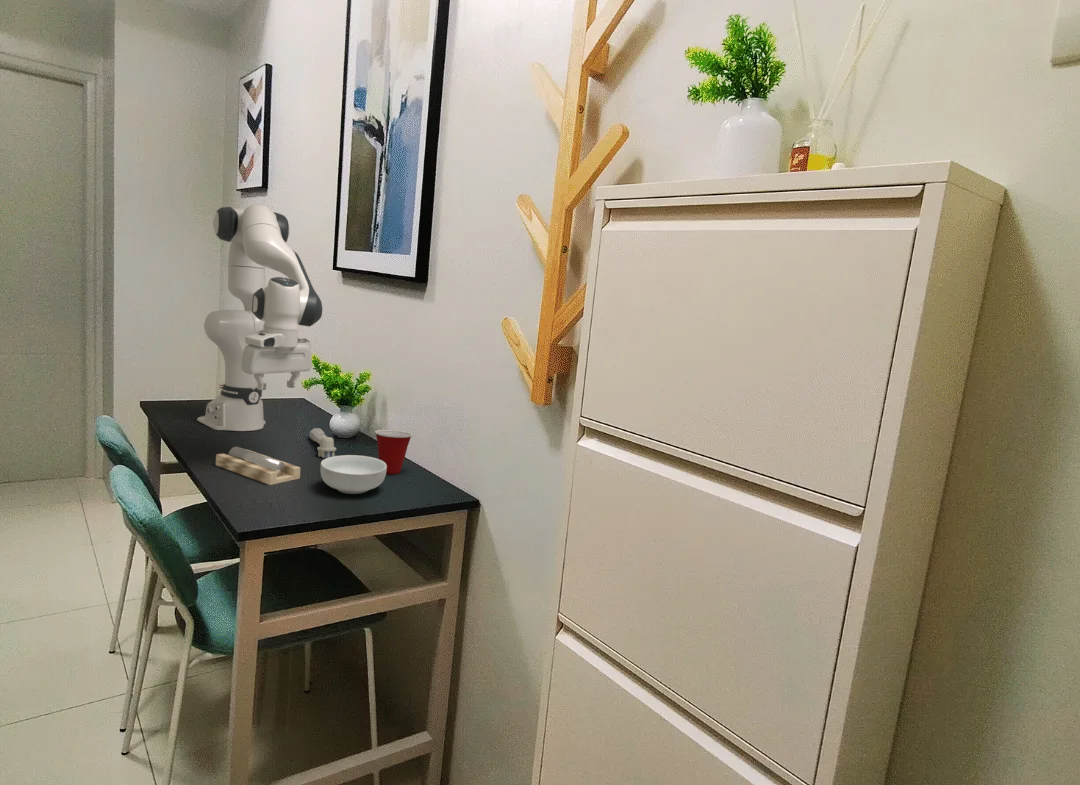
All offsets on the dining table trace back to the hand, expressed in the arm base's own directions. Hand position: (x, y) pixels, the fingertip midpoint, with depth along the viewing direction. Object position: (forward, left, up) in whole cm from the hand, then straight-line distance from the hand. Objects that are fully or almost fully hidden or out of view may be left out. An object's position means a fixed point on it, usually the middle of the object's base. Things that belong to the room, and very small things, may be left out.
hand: (276, 388), depth 182 cm
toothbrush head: (-7, +24, -23) cm, 34 cm away
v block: (+2, -6, -22) cm, 23 cm away
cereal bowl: (+28, +3, -22) cm, 36 cm away
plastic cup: (+23, +23, -22) cm, 39 cm away
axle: (+2, -6, -21) cm, 22 cm away
